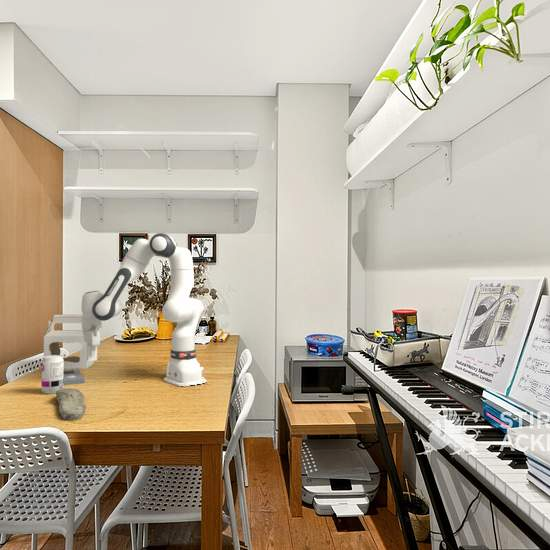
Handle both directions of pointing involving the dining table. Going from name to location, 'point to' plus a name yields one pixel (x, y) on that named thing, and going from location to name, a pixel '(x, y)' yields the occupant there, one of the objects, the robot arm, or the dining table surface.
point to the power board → (72, 377)
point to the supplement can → (52, 374)
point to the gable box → (66, 341)
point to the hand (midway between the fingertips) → (91, 353)
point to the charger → (89, 355)
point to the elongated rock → (71, 403)
